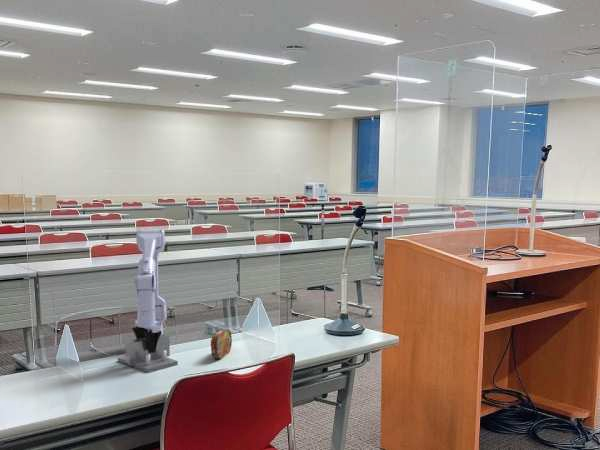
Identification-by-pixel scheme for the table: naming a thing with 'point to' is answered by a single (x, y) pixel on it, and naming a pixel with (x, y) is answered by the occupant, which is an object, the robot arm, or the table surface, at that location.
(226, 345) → the tin
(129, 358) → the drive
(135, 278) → the robot arm
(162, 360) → the tray
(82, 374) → the table surface
